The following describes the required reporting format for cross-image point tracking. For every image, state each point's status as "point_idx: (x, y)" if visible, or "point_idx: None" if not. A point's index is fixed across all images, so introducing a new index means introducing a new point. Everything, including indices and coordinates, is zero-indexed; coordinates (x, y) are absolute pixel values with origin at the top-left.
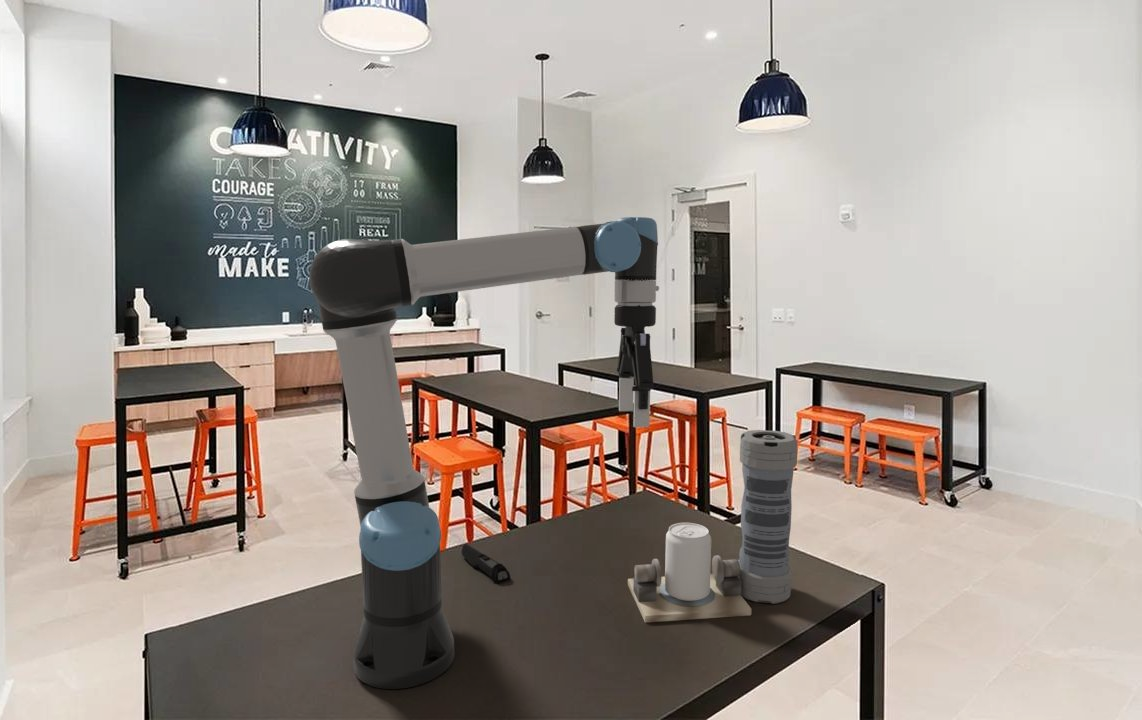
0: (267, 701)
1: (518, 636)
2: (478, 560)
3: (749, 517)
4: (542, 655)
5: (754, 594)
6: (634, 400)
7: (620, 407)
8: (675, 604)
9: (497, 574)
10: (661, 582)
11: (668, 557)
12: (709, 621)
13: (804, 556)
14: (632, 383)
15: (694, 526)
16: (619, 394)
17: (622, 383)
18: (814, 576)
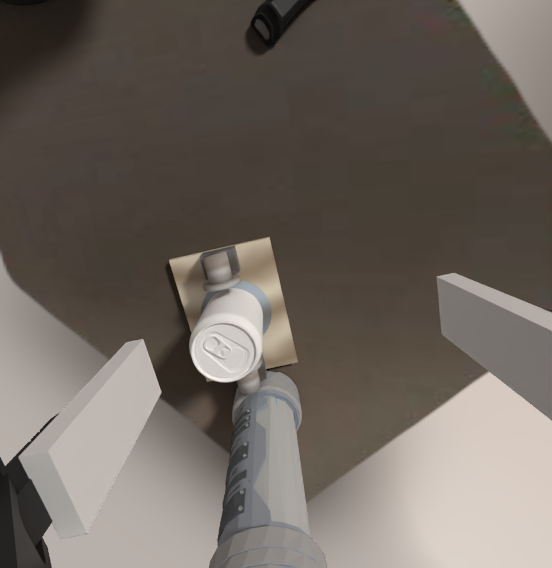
0: None
1: (106, 91)
2: None
3: (240, 453)
4: (70, 132)
5: (237, 390)
6: (66, 410)
7: (447, 284)
8: (204, 298)
9: (256, 18)
10: (262, 283)
11: (212, 307)
12: (187, 332)
13: (367, 457)
14: (540, 405)
15: (247, 362)
16: (498, 297)
17: (542, 342)
18: (311, 456)
